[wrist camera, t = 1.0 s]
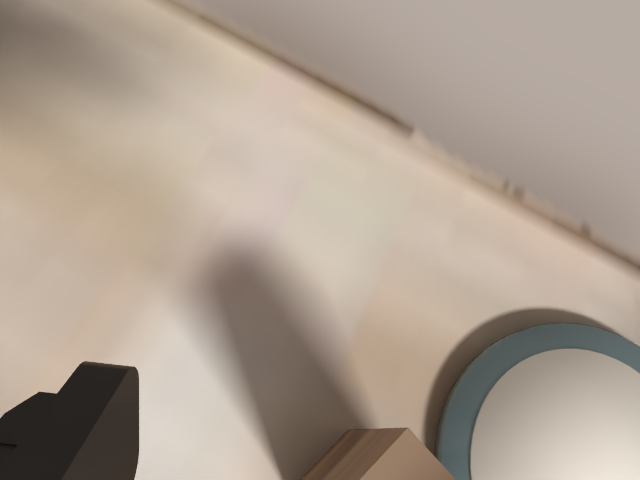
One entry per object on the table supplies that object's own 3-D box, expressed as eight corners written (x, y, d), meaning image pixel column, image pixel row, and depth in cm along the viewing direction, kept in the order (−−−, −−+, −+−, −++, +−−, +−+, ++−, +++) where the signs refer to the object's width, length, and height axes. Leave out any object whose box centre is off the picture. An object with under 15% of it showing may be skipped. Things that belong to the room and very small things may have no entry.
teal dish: (374, 465, 31) (380, 466, 29) (553, 273, 36) (564, 267, 34) (600, 715, 28) (618, 729, 27) (758, 473, 33) (779, 475, 32)
